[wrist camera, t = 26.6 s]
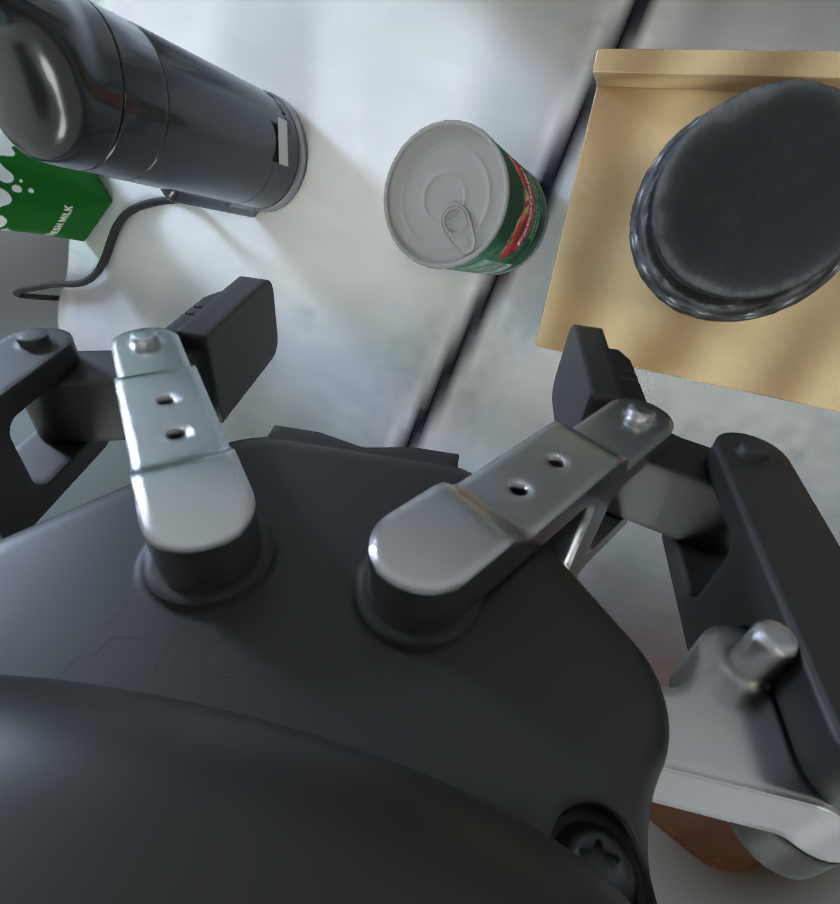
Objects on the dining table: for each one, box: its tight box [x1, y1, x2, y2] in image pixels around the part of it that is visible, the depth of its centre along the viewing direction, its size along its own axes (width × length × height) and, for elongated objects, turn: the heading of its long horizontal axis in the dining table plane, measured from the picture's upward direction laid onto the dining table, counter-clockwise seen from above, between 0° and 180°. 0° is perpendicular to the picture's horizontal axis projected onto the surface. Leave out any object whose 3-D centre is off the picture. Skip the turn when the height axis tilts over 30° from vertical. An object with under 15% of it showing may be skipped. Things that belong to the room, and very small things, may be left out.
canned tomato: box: [384, 120, 547, 275], centre depth 35 cm, size 8×8×11 cm
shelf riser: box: [536, 49, 840, 412], centre depth 26 cm, size 22×12×17 cm, turn 80°
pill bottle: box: [629, 80, 840, 322], centre depth 17 cm, size 6×6×11 cm
